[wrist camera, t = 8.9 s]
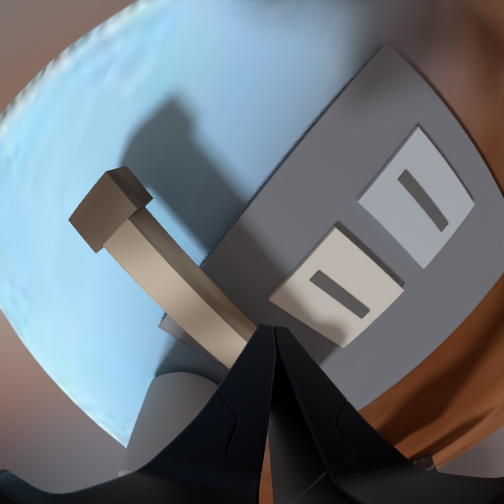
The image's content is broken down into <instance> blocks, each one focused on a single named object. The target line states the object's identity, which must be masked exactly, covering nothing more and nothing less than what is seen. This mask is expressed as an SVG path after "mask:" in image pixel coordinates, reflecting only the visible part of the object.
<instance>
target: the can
mask: <svg viewBox="0 0 504 504" xmlns="http://www.w3.org/2000/svg"><path fill="white" fill-rule="evenodd" d="M217 387H218V386H217V385H216V384H215V383H214V382H212V381H211V380H209V379H208V378H206V377H203V376H201V375H199V374H194V373H190V372H174V373H167V374H163V375H159V376H158V377H156V378H155V379H153V380H152V382H151V384H150V386H149V388H148V391H147V393H146V396H145V399H144V401H143V404H142V407H141V409H140V412H139V415H138V418H137V420H136V423H135V426H134V429H133V432H132V434H131V437H130V440H129V443H128V446H127V449H126V452H125V455H124V458H123V461H122V464H121V467H120V470H119V473H118V474H119V476H123V475H126V474H128V473H131V472H133V471H135V470H137V469H139V468H140V467H142V466H143V465H145V464H146V463H147V462H149V461H150V460H151V459H152V458H154V457H155V456H156V455H157V454H158V453H159V452H160V451H161V450H162V449H163V448H164V447H166V446H167V445H168V444H169V443H170V442H171V441H172V440H173V439H174V438H175V437H176V436H177V435H178V434H179V433H180V432H181V431H182V430H183V429H184V428H185V427H186V426H187V425H188V424H189V423H190V422H191V421H192V420H193V419H194V418H195V417H196V415H197V414H198V413H199V412H200V411H201V409H202V408H203V407H204V405H205V404H206V403H207V401H208V400H209V399H210V397H211V396H212V394H213V393H214V392H215V390H216V389H217Z"/></svg>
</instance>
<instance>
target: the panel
mask: <svg viewBox="0 0 504 504" xmlns="http://www.w3.org/2000/svg"><path fill="white" fill-rule="evenodd" d="M200 269H201V270H202V271H203V272H204V273H205V274H206V275H207V276H208V277H209V278H210V280H211V281H212V282H213V283H214V284H215V285H216V286H217V287H218V288H219V289H220V290H221V291H222V292H223V293H224V294H225V295H226V296H227V297H228V298H229V299H230V301H231V302H232V303H233V304H234V305H235V306H236V307H237V308H238V309H239V310H240V311H241V312H242V313H243V314H244V315H245V316H246V317H247V318H248V319H249V320H250V321H251V322H252V323H253V324H254V325H255V326H256V327H258V325H259V324H267V325H272V326H273V327H274V326H285V327H288V328H289V330H290V331H291V332H292V333H293V334H294V336H295V337H296V338H297V339H298V341H299V342H300V343H301V344H302V345H303V347H304V348H305V349H306V350H307V352H308V353H309V354H310V355H311V356H312V358H313V359H314V360H315V361H316V362H317V364H318V365H319V366H320V367H321V368H322V370H323V371H324V372H325V373H326V374H327V376H328V377H329V378H330V379H331V380H332V382H333V383H334V384H335V385H336V386H337V388H338V389H339V390H340V391H341V392H342V394H343V395H344V396H345V397H346V398H347V401H349V402H350V403H351V404H352V405H353V406H354V408H355V409H356V410H357V411H358V410H360V409H361V408H363V407H364V406H366V405H367V404H369V403H370V402H371V401H373V400H374V399H376V398H377V397H378V396H380V395H381V394H382V393H384V392H385V391H386V390H388V389H389V388H390V387H392V386H393V385H394V384H395V383H397V382H398V381H399V380H400V379H402V378H403V377H404V376H405V375H406V374H408V373H409V372H410V371H411V370H412V369H414V368H415V367H416V366H417V365H418V364H419V363H421V362H422V361H423V360H424V359H425V358H426V357H427V356H428V355H429V354H431V353H432V352H433V351H434V350H435V349H436V348H437V347H438V346H439V345H440V344H441V343H442V342H443V341H444V340H445V339H446V338H447V337H448V336H449V335H450V334H451V333H452V332H453V331H454V330H455V329H456V328H457V327H458V326H459V325H460V324H461V323H462V322H463V321H464V320H465V318H466V317H467V316H468V315H469V314H470V313H471V312H472V311H473V309H474V308H475V307H476V306H477V305H478V304H479V303H480V301H481V300H482V299H483V298H484V297H485V295H486V294H487V293H488V292H489V290H490V289H491V288H492V287H493V285H494V284H495V283H496V281H497V280H498V279H499V277H500V276H501V275H502V273H503V272H504V198H503V196H502V194H501V192H500V190H499V188H498V186H497V184H496V182H495V180H494V179H493V177H492V175H491V173H490V171H489V169H488V168H487V166H486V164H485V163H484V161H483V159H482V158H481V156H480V154H479V153H478V151H477V149H476V148H475V146H474V145H473V143H472V142H471V140H470V139H469V137H468V136H467V134H466V133H465V131H464V130H463V128H462V127H461V126H460V124H459V123H458V121H457V120H456V119H455V117H454V116H453V115H452V113H451V112H450V111H449V109H448V108H447V107H446V105H445V104H444V103H443V102H442V100H441V99H440V98H439V97H438V96H437V94H436V93H435V92H434V91H433V90H432V88H431V87H430V86H429V85H428V84H427V83H426V82H425V80H424V79H423V78H422V77H421V76H420V75H419V74H418V73H417V72H416V71H415V70H414V69H413V68H412V67H411V65H410V64H409V63H408V62H407V61H406V60H405V59H404V58H403V57H402V56H401V55H399V54H398V53H397V52H396V51H395V50H394V49H393V48H392V47H391V46H390V45H389V44H388V43H386V44H385V45H383V46H382V47H381V48H380V49H379V50H378V51H377V53H376V54H375V55H374V56H373V57H372V58H371V59H370V60H369V61H368V62H367V64H366V65H365V66H364V67H363V68H362V69H361V70H360V71H359V73H358V74H357V75H356V76H355V77H354V78H353V79H352V81H351V82H350V83H349V84H348V85H347V86H346V87H345V89H344V90H343V91H342V92H341V93H340V94H339V95H338V97H337V98H336V99H335V100H334V101H333V102H332V104H331V105H330V106H329V107H328V108H327V109H326V111H325V112H324V113H323V114H322V115H321V117H320V118H319V119H318V120H317V121H316V122H315V124H314V125H313V126H312V127H311V128H310V130H309V131H308V132H307V133H306V134H305V136H304V137H303V138H302V139H301V140H300V142H299V143H298V144H297V145H296V146H295V148H294V149H293V150H292V151H291V153H290V154H289V155H288V156H287V157H286V159H285V160H284V161H283V162H282V164H281V165H280V166H279V167H278V168H277V170H276V171H275V172H274V173H273V175H272V176H271V177H270V178H269V180H268V181H267V182H266V183H265V185H264V186H263V187H262V188H261V190H260V191H259V192H258V193H257V195H256V196H255V197H254V198H253V200H252V201H251V202H250V203H249V205H248V206H247V207H246V209H245V210H244V211H243V212H242V214H241V215H240V216H239V218H238V219H237V220H236V221H235V223H234V224H233V225H232V227H231V228H230V229H229V230H228V232H227V233H226V234H225V236H224V237H223V238H222V239H221V241H220V242H219V243H218V245H217V246H216V247H215V249H214V250H213V251H212V253H211V254H210V255H209V257H208V258H207V259H206V261H205V262H204V263H203V265H202V266H201V267H200ZM158 327H159V328H161V329H162V330H164V331H165V332H167V333H169V334H170V335H172V336H173V337H175V338H177V339H178V340H180V341H182V342H183V343H185V344H187V345H188V346H190V347H192V348H193V349H195V350H197V351H199V352H200V353H202V354H204V355H206V356H207V357H209V358H211V359H213V360H215V361H216V362H218V363H220V364H222V365H224V364H223V363H221V362H220V361H219V360H218V359H217V358H216V357H214V356H213V355H212V354H211V353H210V352H209V351H207V350H206V349H205V348H204V347H203V346H202V345H201V344H200V343H198V342H197V341H196V340H195V339H194V338H193V337H192V336H191V335H190V334H188V333H187V332H186V331H185V330H184V329H183V328H182V327H181V326H180V325H179V324H178V323H177V322H176V321H175V320H173V319H172V318H171V317H170V316H169V315H168V314H167V313H166V315H165V316H164V317H163V319H162V320H161V322H160V324H159V326H158ZM224 366H225V365H224Z"/></svg>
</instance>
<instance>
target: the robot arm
mask: <svg viewBox="0 0 504 504" xmlns="http://www.w3.org/2000/svg"><path fill="white" fill-rule="evenodd" d="M267 431H268V437H269V450H270V462H271V475H272V488H273V501H274V504H504V477H499V478H480V477H469V476H461V475H453V474H445V473H439V472H434V471H429V470H426V469H423V468H421V467H419V466H417V465H415V464H414V463H412V462H411V461H410V460H408V459H407V458H406V457H405V456H404V455H403V454H402V453H400V452H399V451H398V450H397V449H396V448H395V447H394V446H393V445H391V444H390V443H389V442H388V441H387V440H386V439H385V438H384V437H383V436H382V435H380V434H379V433H378V432H377V431H376V430H375V429H374V428H373V427H372V426H371V425H370V424H369V423H368V422H367V421H366V420H365V419H364V418H363V417H362V415H361V414H360V413H359V412H358V411H357V410H356V409H355V408H354V406H353V405H352V404H351V403H350V402H349V401H347V398H346V397H345V396H344V395H343V394H342V392H341V391H340V390H339V389H338V388H337V386H336V385H335V384H334V383H333V382H332V380H331V379H330V378H329V377H328V376H327V374H326V373H325V372H324V371H323V370H322V368H321V367H320V366H319V365H318V364H317V362H316V361H315V360H314V359H313V358H312V356H311V355H310V354H309V353H308V352H307V350H306V349H305V348H304V347H303V345H302V344H301V343H300V342H299V341H298V339H297V338H296V337H295V336H294V334H293V333H292V332H291V331H290V330H289V328H288V327H285V326H274V327H273V326H272V325H267V324H259V325H258V327H257V329H256V330H255V332H254V333H253V335H252V336H251V338H250V339H249V341H248V342H247V344H246V346H245V347H244V349H243V350H242V352H241V353H240V355H239V356H238V358H237V359H236V361H235V362H234V364H233V365H232V367H231V368H230V370H229V371H228V373H227V374H226V376H225V377H224V379H223V380H222V381H221V383H220V384H219V386H218V387H217V389H216V390H215V392H214V393H213V394H212V396H211V397H210V399H209V400H208V401H207V403H206V404H205V405H204V407H203V408H202V409H201V411H200V412H199V413H198V414H197V415H196V417H195V418H194V419H193V420H192V421H191V422H190V423H189V424H188V425H187V426H186V427H185V428H184V429H183V430H182V431H181V432H180V433H179V434H178V435H177V436H176V437H175V438H174V439H173V440H172V441H171V442H170V443H169V444H168V445H167V446H166V447H164V448H163V449H162V450H161V451H160V452H159V453H158V454H157V455H156V456H155V457H154V458H152V459H151V460H150V461H149V462H147V463H146V464H145V465H143V466H142V467H140V468H139V469H137V470H135V471H133V472H131V473H128V474H126V475H123V476H120V477H118V478H115V479H112V480H109V481H106V482H103V483H100V484H97V485H94V486H91V487H87V488H84V489H80V490H76V491H73V492H68V493H51V492H47V491H43V490H40V489H38V488H36V487H34V486H32V485H31V484H29V483H28V482H26V481H25V480H23V479H22V478H20V477H19V476H17V475H15V474H14V473H12V472H11V471H9V470H7V469H2V470H0V504H259V486H260V478H261V472H262V465H263V459H264V452H265V445H266V438H267Z"/></svg>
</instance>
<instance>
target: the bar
mask: <svg viewBox="0 0 504 504" xmlns="http://www.w3.org/2000/svg"><path fill="white" fill-rule="evenodd" d="M152 199H153V197H152V196H151V195H150V194H149V193H148V191H147V190H146V189H145V188H144V187H143V186H142V184H141V183H140V182H139V181H138V180H137V178H136V177H135V176H134V175H133V174H132V173H131V171H130V170H129V169H128V168H127V167H126V166H123V167H120V168H116V169H113V170H109V171H106V172H105V173H104V174H103V175H102V177H101V178H100V179H99V180H98V181H97V183H96V184H95V185H94V186H93V188H92V189H91V190H90V191H89V193H88V194H87V195H86V196H85V198H84V199H83V200H82V202H81V203H80V204H79V206H78V207H77V208H76V210H75V211H74V212H73V214H72V215H71V217H70V218H69V219H68V220H69V221H70V223H71V224H72V225H73V226H74V228H75V229H76V230H77V231H78V233H79V234H80V235H81V236H82V238H83V239H84V240H85V241H86V242H87V243H88V245H89V246H90V247H91V248H92V249H93V251H94V252H95V253H97V252H98V251H99V250H101V249H102V248H103V247H105V249H106V250H107V251H108V252H109V253H110V254H111V255H112V257H113V258H114V259H115V260H116V261H117V262H118V263H119V264H120V265H121V267H122V268H123V269H124V270H125V271H126V272H127V273H128V274H129V275H130V276H131V277H132V278H133V279H134V280H135V282H136V283H137V284H138V285H139V286H140V287H141V288H142V289H143V290H144V291H145V292H146V293H147V294H148V295H149V296H150V297H151V298H152V299H153V300H154V301H155V302H156V303H157V304H158V305H159V306H160V307H161V308H162V309H163V310H164V311H165V312H166V313H167V314H168V315H169V316H170V317H171V318H172V319H173V320H175V321H176V322H177V323H178V324H179V325H180V326H181V327H182V328H183V329H184V330H185V331H186V332H187V333H188V334H190V335H191V336H192V337H193V338H194V339H195V340H196V341H197V342H198V343H200V344H201V345H202V346H203V347H204V348H205V349H206V350H207V351H209V352H210V353H211V354H212V355H213V356H214V357H216V358H217V359H218V360H219V361H220V362H221V363H223V364H224V365H225V366H226V367H227V368H229V369H230V368H231V367H232V365H233V364H234V362H235V361H236V359H237V358H238V356H239V355H240V353H241V352H242V350H243V349H244V347H245V346H246V344H247V342H248V341H249V339H250V338H251V336H252V335H253V333H254V332H255V330H256V329H257V327H256V326H255V325H254V324H253V323H252V322H251V321H250V320H249V319H248V318H247V317H246V316H245V315H244V314H243V313H242V312H241V311H240V310H239V309H238V308H237V307H236V306H235V305H234V304H233V303H232V302H231V301H230V299H229V298H228V297H227V296H226V295H225V294H224V293H223V292H222V291H221V290H220V289H219V288H218V287H217V286H216V285H215V284H214V283H213V282H212V281H211V280H210V278H209V277H208V276H207V275H206V274H205V273H204V272H203V271H202V270H201V269H200V268H199V267H198V266H197V265H196V263H195V262H194V261H193V260H192V259H191V258H190V257H189V256H188V255H187V254H186V253H185V251H184V250H183V249H182V248H181V247H180V246H179V245H178V244H177V243H176V242H175V240H174V239H173V238H172V237H171V236H170V235H169V234H168V233H167V231H166V230H165V229H164V228H163V227H162V226H161V225H160V224H159V222H158V221H157V220H156V219H155V218H154V217H153V216H152V214H151V213H150V212H149V211H148V210H147V209H146V207H145V206H146V205H147V204H148V203H149V202H150V201H151V200H152Z"/></svg>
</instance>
